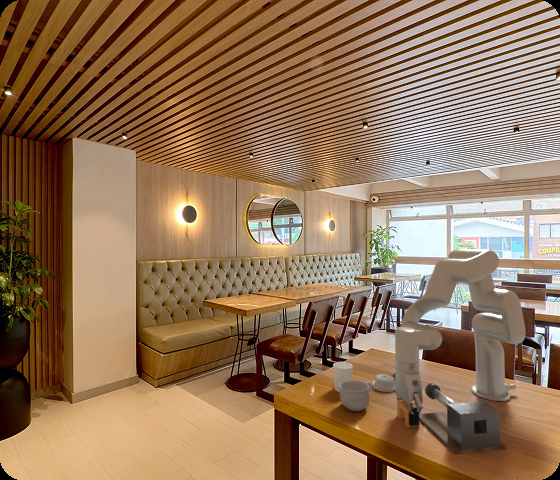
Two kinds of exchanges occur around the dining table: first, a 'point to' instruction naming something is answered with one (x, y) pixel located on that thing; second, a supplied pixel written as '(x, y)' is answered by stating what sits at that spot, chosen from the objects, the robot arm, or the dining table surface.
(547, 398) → the dining table surface
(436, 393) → the shaft
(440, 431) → the base board
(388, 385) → the mechanical component
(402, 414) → the block
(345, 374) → the white cup
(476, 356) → the robot arm
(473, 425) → the block
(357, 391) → the teacup
